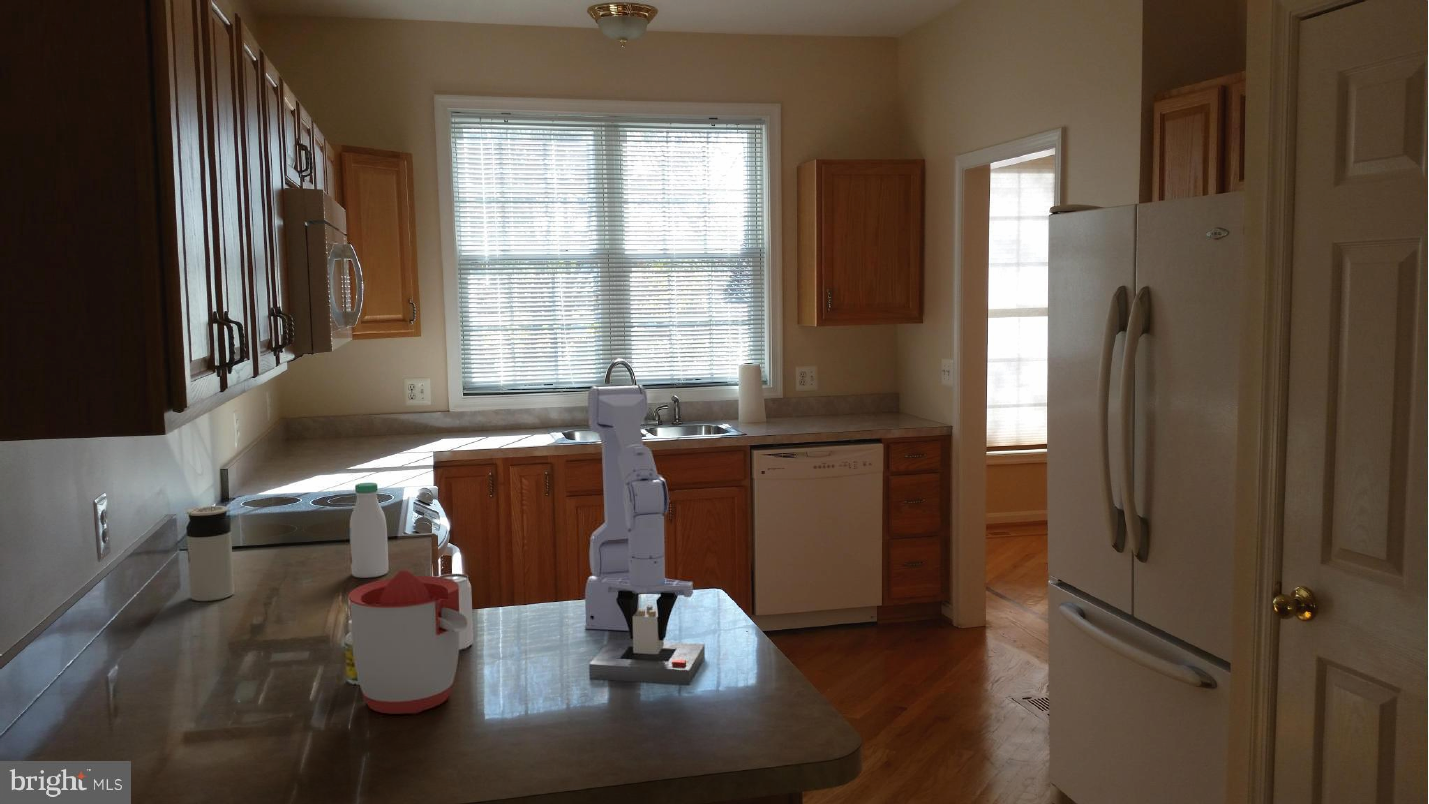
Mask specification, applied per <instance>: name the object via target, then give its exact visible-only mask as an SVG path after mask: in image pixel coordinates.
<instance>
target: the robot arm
mask: <svg viewBox="0 0 1429 804" xmlns="http://www.w3.org/2000/svg"><path fill="white" fill-rule="evenodd" d="M587 409H588V410H587V411H588V413H587V414H588V425H589V426H588V427H589V428H590V429H589V431H591V432H594V433H596V434H598V436H599V440H600V443H601V458H602V459H601V461H602V482H603V483H602V484H603V505H604V506H603V507H604V510H603V511H604V513H603V514H604V522H603V524H601V525H600V526H599V527H598V528H597V529H596V530H594V531H593V532H592V534H591V536H590V538H589V539H590V540H589V541H590V544H589V545H590V546H589V552H588V553H589V555H588V557H589V568H590V572H591V574H592V575H590V576H589V577H588V579H587V581H586V584H585V592H584V602H585V603H584V606H585V607H584V608H585V625H584V629H587V630H588V629H589V630H604V631H605V630H607V631H609V630H610V631H626V632H627V631H628V632H629V636H630V640H633V615H634V614H635V613H636V612H637V611H638V610H639V609H640V599H639V598H640V597H639V595H640V594H642V595H643V594H644V595H660V596H658V598H657V599H656V601H655V602H656V610H658V638H659V640H661V641H663V640H664V641H665V638H666V636H667V629H668V625H669V620H670V617H671V614H672V611H673V609H674V605H676V602H677V600H678V597H679V596H683V597H685V598H691V597H692V596H693V594H694V587H693V586H694V585H693V584H694V583H693V581H685V580H684V581H683V580H679V579H678V580H677V579H670V578H666V572H665V571H666V565H665V564H666V561H665V559H666V558H665V556H666V554H665V515H667V514H668V512H669V504H670V502H669V492H668V491H669V489H668V486H667V482H666V479H664V477H663V476H662V474H659V473H658V470H657V466H656V463H655V460H654V456H653V453H652V450H651V449H650V448H649V447H648V446H646V445H644V444H643V436H642V428H641V425H642V423H643V422H645V421H644V420H645V418H646V416H647V414H648V394H647V390H646V388H645V387H644V386H643V384H637V385H619V386H618V385H617V386H615V385H613V386H595V385H592V386H591V388H590V389H588V395H587Z"/></svg>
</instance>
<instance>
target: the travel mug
mask: <svg viewBox="0 0 1429 804" xmlns="http://www.w3.org/2000/svg"><path fill="white" fill-rule="evenodd" d="M228 510H229V508H228V507H227V506H224V505H208V506H199V507H194V508H191V509H188V510H187V511H186V514H187V515H188V519H189V521H188V524H187V525H186V527H185V528H186V543H187V545H186V546H187V556H188V557H187V558H188V560H187V561H188V573H189V574H188V575H189V576H188V577H189V589H190V590H189V592H190V599H191V600H194V601H196V602H213V601H214V602H215V601H221V600H225V599H228V598H229V597H231V596H233V595H234V594H235V582H234V578H235V577H234V564H233V563H234V562H233V547H232V545H233V544H232V533H231V532H232V531H231V522H230V520H229V519H228V518H227V513H228Z"/></svg>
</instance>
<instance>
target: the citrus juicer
mask: <svg viewBox="0 0 1429 804" xmlns="http://www.w3.org/2000/svg"><path fill="white" fill-rule="evenodd" d="M348 600H349V601H350V612H351V613H350V614H351V619H352V640H353V656H354V664H355V669H356V674H357V678H358V681H359V684H360V685H359V687H360V690H361V694H362V696H363V698H364V700H365V702H366V704H367V706H368V707H369V708H370V709H371V710H373V711H375V712H379V713H383V714H389V715H390V714H391V715H398V714H399V715H402V714H410V715H417V714H420V713H422V712H423V711H426V710H430V709H432V708H434V707H437V706H440V705H441V704H442V703H444V702H445V701H446V700H447V699H449V696H450V693H451V691H452V689H453V686H454V683H455V676H456V673H457V667H458V662H459V661H458V660H459V654H460V652H459V632H460V631H462V630H464V629H465V628H466V627H467V624H468V623H467V618H466V617H465V616H464V615H463V614H461V613H459V585H458V584H457V583H456V582H455V581H453V580H450V579H447V578H442V577H438V576H429V575H428V576H427V575H426V576H425V575H414V574H413V573H412V572H410V571H408V570H407V569H401V570H400V571H399V572H398V573H397V574H395V575H394V576H393V577H392V578H385V579H380V580H377V581H376V580H375V581H371V582H369V583H366V584H363V585H359V586H357V587H355V588H354V589H353V590H351V591H350V592H349V594H348ZM419 712H420V713H419ZM416 713H417V714H416Z"/></svg>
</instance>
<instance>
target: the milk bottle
mask: <svg viewBox="0 0 1429 804" xmlns="http://www.w3.org/2000/svg"><path fill="white" fill-rule="evenodd" d="M378 489H379V488H378V483H376V482H360V483H357V484H355V486H354V491H355V495H356V501H355V505H354V507H353V510H352V512H351V514H350V520H349V545H350V548H349V549H350V567H351V574H352V577H354V578H358V579H359V578H361V579H365V578H367V579H368V578H376V577H381V576H383V575H386V574H388V572H389V549H388V548H389V547H388V545H389V544H388V528H387V519H386V515H385V512H384V510H383V509H382V507H381V505H380V503H379V500H378V495H377V494H378Z"/></svg>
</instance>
